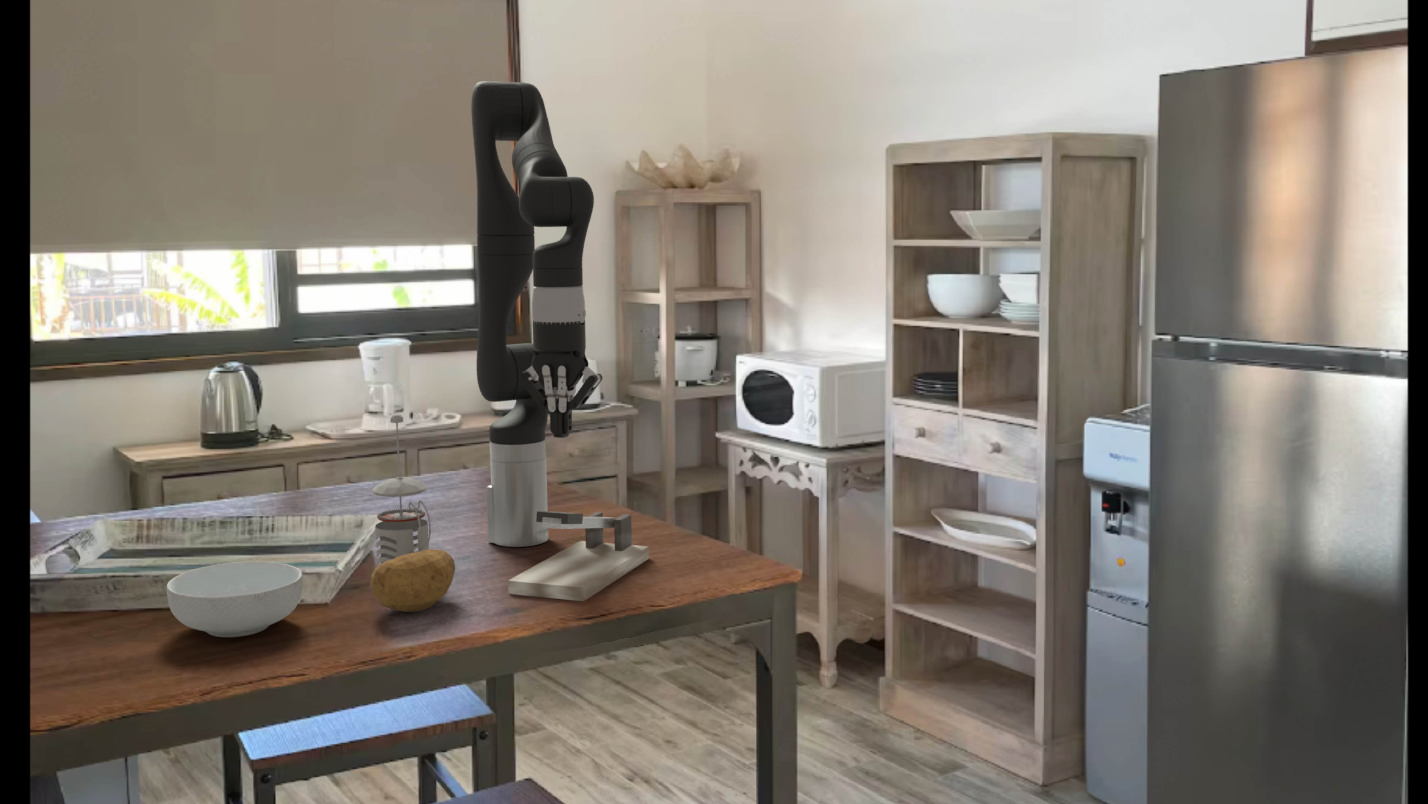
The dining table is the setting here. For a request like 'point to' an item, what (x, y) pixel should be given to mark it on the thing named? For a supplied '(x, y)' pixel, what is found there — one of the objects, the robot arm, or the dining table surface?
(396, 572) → the potato
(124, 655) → the dining table surface
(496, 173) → the robot arm
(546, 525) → the lever
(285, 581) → the cereal bowl
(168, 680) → the dining table surface
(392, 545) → the french press
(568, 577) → the press base
